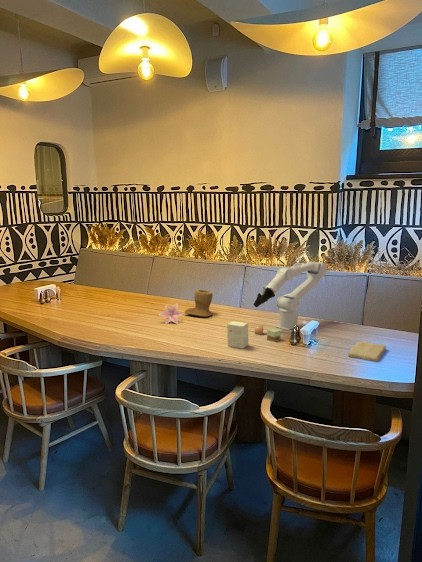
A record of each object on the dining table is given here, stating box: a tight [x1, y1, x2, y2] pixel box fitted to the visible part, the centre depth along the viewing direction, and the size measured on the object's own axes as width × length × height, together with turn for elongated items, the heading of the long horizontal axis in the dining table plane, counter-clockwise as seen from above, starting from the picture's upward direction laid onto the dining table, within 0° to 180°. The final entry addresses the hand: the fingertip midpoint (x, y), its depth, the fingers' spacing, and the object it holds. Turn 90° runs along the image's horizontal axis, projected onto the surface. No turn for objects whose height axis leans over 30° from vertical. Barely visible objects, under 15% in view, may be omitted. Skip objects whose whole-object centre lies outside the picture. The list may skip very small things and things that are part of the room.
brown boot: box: [183, 289, 213, 317], centre depth 239 cm, size 15×12×15 cm
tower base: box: [266, 334, 281, 343], centre depth 195 cm, size 4×4×2 cm
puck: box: [254, 325, 264, 336], centre depth 204 cm, size 4×4×4 cm
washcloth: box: [348, 341, 387, 362], centre depth 176 cm, size 12×18×3 cm, turn 147°
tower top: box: [266, 327, 282, 337], centre depth 194 cm, size 4×4×2 cm
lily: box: [158, 302, 184, 325], centre depth 226 cm, size 12×12×10 cm
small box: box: [226, 321, 249, 349], centre depth 187 cm, size 8×6×10 cm
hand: (258, 304), depth 198 cm, fingers open, 7 cm apart
